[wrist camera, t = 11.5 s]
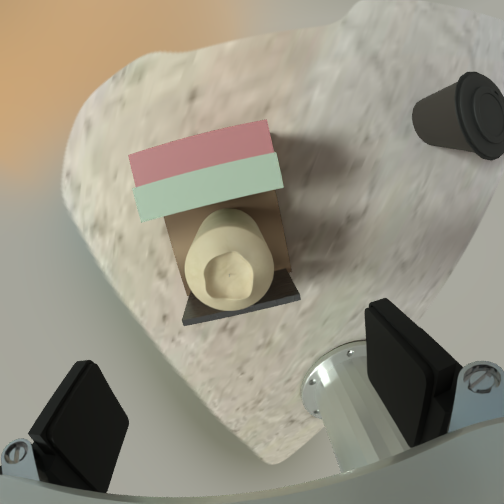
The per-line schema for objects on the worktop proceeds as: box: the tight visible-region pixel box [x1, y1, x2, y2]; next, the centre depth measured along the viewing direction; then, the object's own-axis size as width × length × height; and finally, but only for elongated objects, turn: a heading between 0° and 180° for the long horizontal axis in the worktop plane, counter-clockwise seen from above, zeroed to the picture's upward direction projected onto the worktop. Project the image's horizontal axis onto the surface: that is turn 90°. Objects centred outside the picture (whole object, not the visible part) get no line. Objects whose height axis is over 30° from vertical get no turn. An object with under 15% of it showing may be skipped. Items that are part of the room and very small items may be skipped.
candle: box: [185, 208, 274, 311], centre depth 22 cm, size 6×6×10 cm
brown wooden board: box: [164, 190, 292, 296], centre depth 27 cm, size 13×10×2 cm
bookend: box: [182, 268, 301, 326], centre depth 25 cm, size 1×9×6 cm, turn 103°
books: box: [128, 119, 284, 223], centre depth 21 cm, size 4×9×8 cm, turn 103°
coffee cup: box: [412, 72, 504, 160], centre depth 22 cm, size 8×8×10 cm
